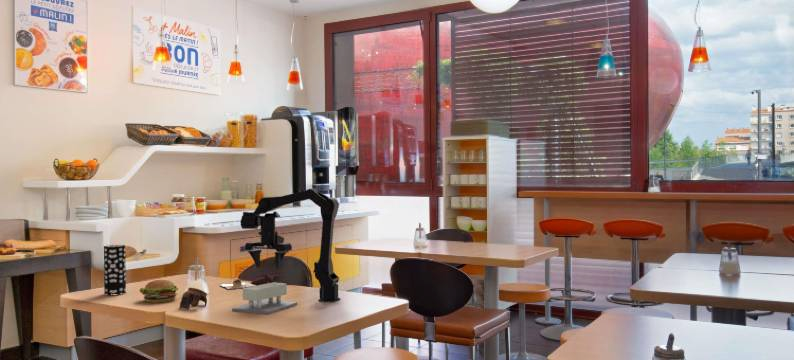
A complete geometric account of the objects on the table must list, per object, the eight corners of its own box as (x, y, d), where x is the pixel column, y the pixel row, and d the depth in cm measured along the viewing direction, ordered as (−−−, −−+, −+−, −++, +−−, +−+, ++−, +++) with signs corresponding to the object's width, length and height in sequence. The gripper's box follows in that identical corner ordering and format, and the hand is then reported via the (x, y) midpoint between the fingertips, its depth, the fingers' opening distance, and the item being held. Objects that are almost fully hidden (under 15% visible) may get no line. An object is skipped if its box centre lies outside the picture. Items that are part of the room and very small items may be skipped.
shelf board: (286, 294, 251) (286, 283, 250) (255, 301, 237) (255, 290, 237) (273, 292, 254) (273, 282, 254) (242, 299, 241) (242, 288, 241)
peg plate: (297, 304, 251) (297, 294, 251) (269, 314, 234) (268, 302, 234) (261, 301, 257) (261, 291, 257) (232, 310, 241) (231, 299, 241)
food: (172, 295, 274) (172, 276, 274) (181, 300, 262) (181, 280, 262) (137, 299, 266) (137, 279, 266) (145, 304, 254) (144, 284, 254)
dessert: (255, 288, 292) (255, 277, 292) (228, 291, 286) (228, 280, 286) (245, 284, 302) (245, 274, 302) (219, 287, 296) (219, 276, 296)
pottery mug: (174, 308, 249) (183, 287, 253) (198, 317, 253) (206, 296, 257) (183, 305, 240) (191, 283, 243) (207, 314, 243) (215, 293, 247)
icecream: (258, 277, 277) (285, 276, 288) (247, 271, 281) (274, 270, 293) (254, 293, 277) (281, 291, 289) (243, 287, 282) (271, 286, 294)
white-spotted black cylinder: (130, 293, 280) (129, 245, 280) (112, 296, 273) (111, 247, 273) (117, 291, 285) (117, 244, 285) (100, 294, 278) (99, 246, 278)
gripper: (299, 227, 266) (299, 267, 266) (260, 226, 274) (260, 265, 274) (283, 230, 256) (284, 270, 256) (243, 229, 264) (244, 268, 264)
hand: (268, 268), depth 263 cm, fingers open, 9 cm apart
